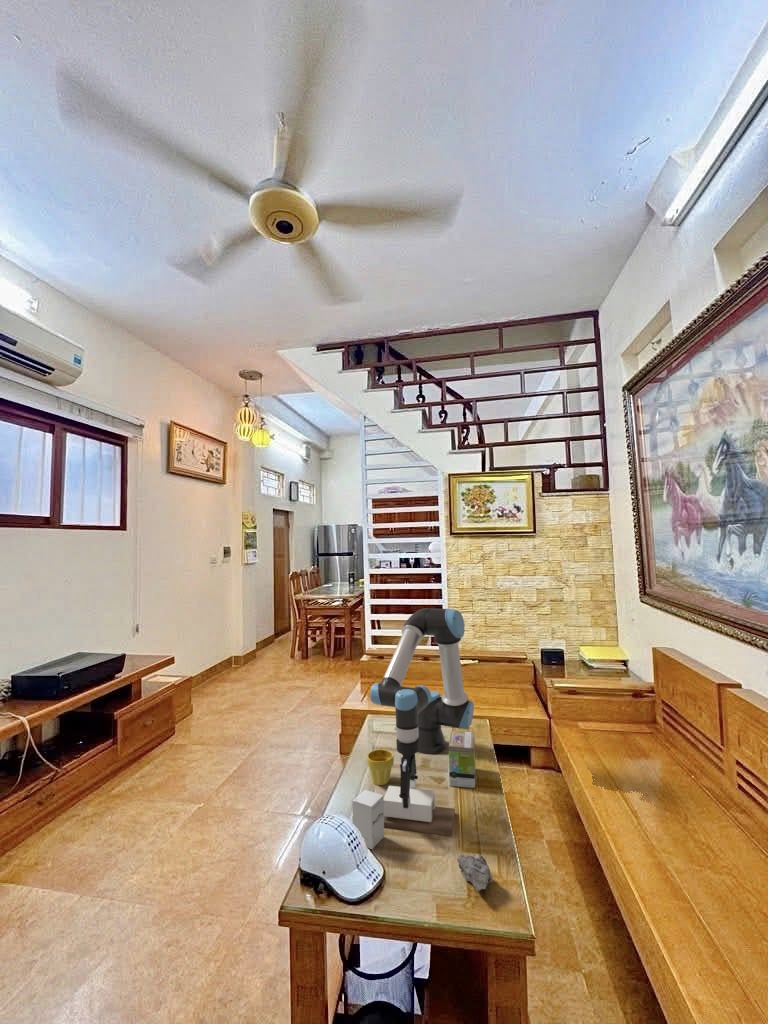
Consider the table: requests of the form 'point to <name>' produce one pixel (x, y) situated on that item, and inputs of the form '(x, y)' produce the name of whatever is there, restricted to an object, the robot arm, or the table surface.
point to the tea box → (462, 759)
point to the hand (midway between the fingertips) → (409, 807)
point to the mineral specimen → (475, 870)
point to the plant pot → (380, 765)
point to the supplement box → (369, 816)
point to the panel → (419, 804)
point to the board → (439, 824)
